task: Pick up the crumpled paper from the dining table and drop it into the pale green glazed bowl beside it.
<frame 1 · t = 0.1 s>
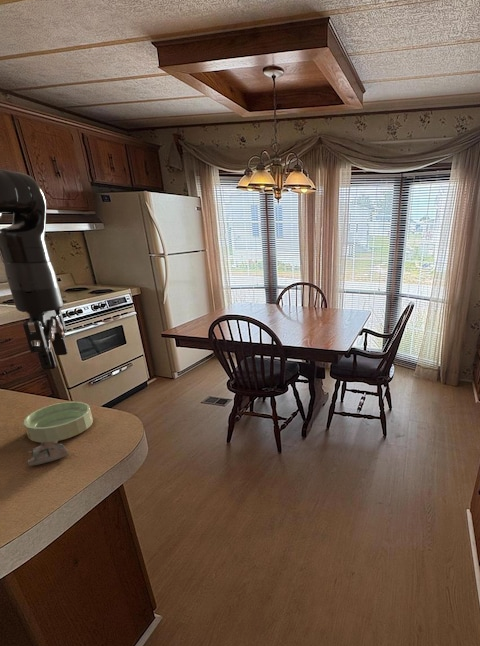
hand: (56, 361, 74), 28 cm above the table, tool pointing down, fingers open, 8 cm apart
crumpled paper: (50, 459, 87), on the table
bowl: (62, 429, 99), on the table
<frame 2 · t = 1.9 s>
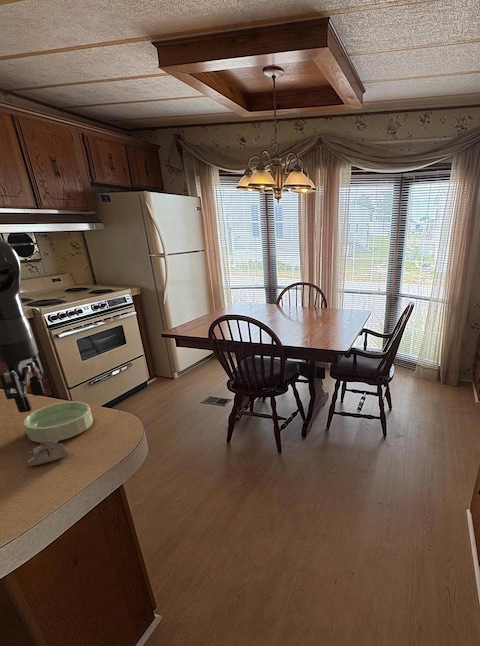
hand: (32, 402, 80), 16 cm above the table, tool pointing down, fingers open, 8 cm apart
nothing on the table moved.
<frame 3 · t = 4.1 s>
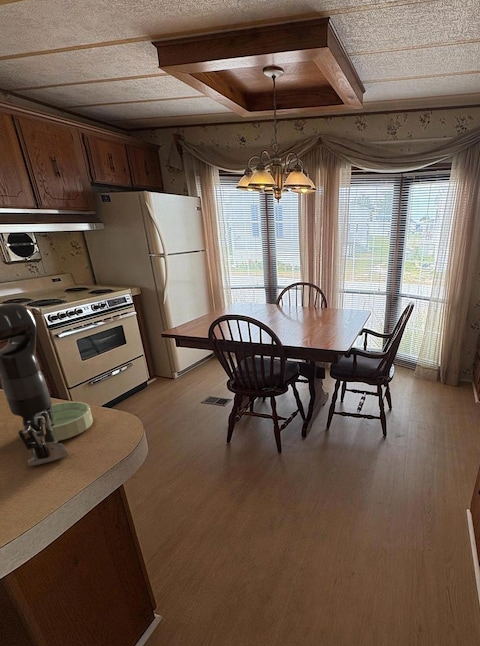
hand: (47, 451, 86), 2 cm above the table, tool pointing down, fingers closed on crumpled paper, 4 cm apart
crumpled paper: (50, 459, 87), on the table, touching gripper
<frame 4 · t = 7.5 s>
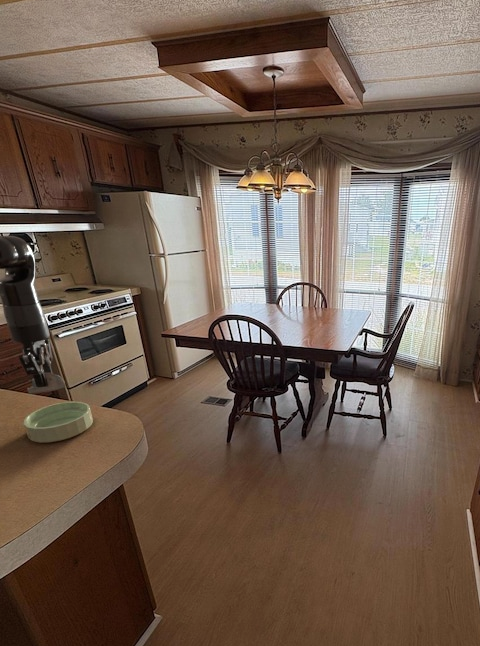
hand: (45, 382, 92), 16 cm above the table, tool pointing down, fingers closed on crumpled paper, 4 cm apart
crumpled paper: (48, 390, 93), point 13 cm above the table, touching gripper
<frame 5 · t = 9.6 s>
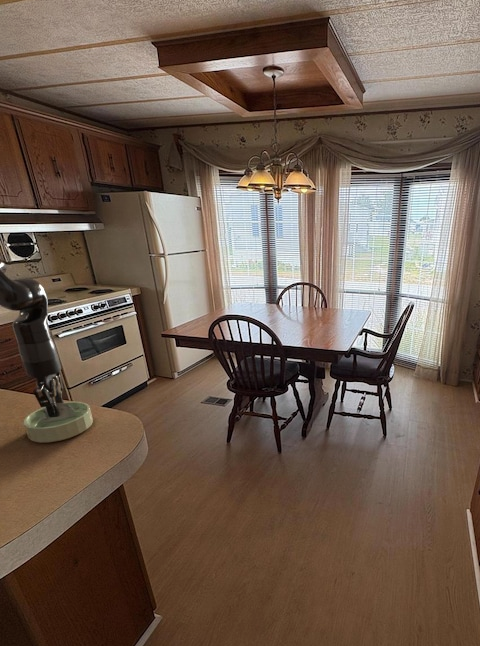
hand: (57, 411, 97), 6 cm above the table, tool pointing down, fingers closed on crumpled paper, 4 cm apart
crumpled paper: (59, 419, 98), point 3 cm above the table, touching gripper
when the fingers open (3 cm above the table, at t = 10.9 s): crumpled paper stays where it is, resting on bowl.
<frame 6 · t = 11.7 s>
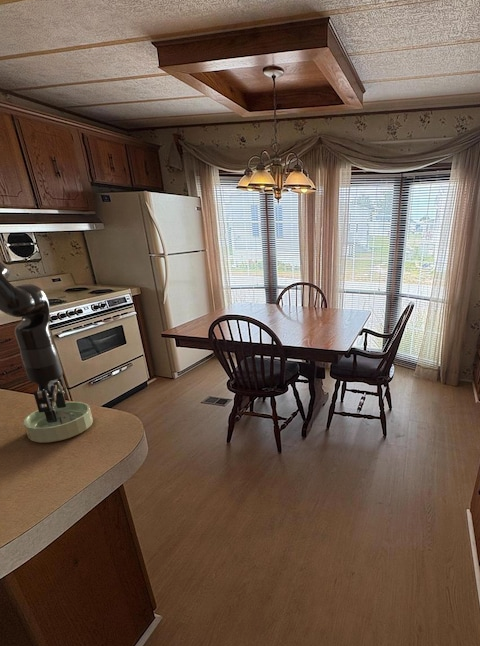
hand: (57, 414, 97), 5 cm above the table, tool pointing down, fingers open, 8 cm apart
crumpled paper: (62, 427, 99), resting on bowl
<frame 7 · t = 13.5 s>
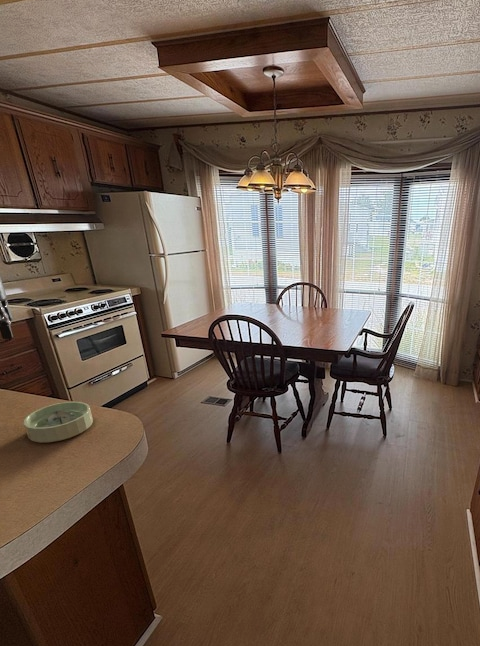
hand: (1, 343, 91), 25 cm above the table, tool pointing down, fingers open, 8 cm apart
nothing on the table moved.
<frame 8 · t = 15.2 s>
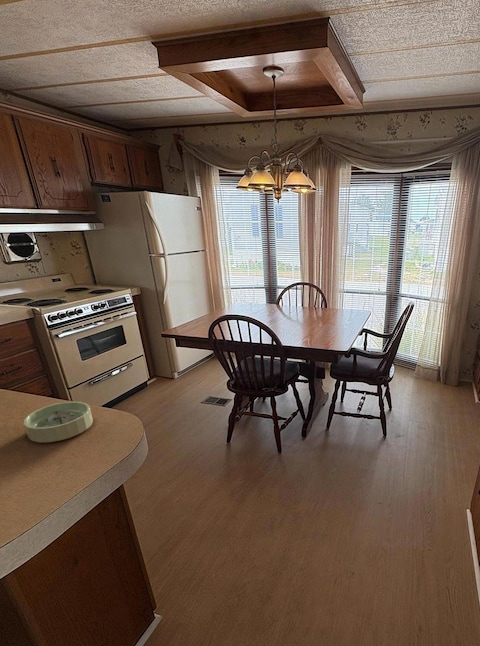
nothing on the table moved.
at the end: crumpled paper inside the target area in the bowl (0.2 cm from its centre), point 0.4 cm above the bowl's base; the gripper is holding nothing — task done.
